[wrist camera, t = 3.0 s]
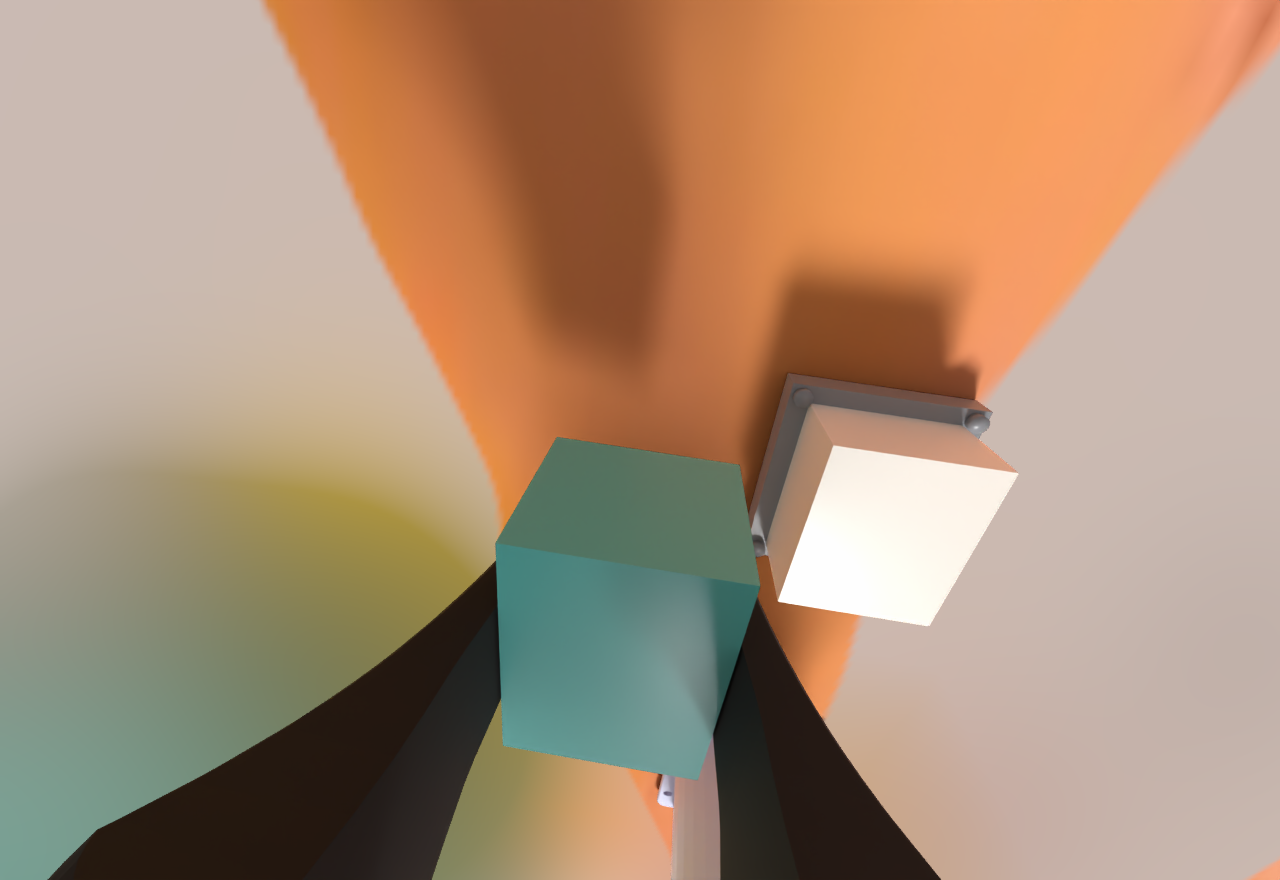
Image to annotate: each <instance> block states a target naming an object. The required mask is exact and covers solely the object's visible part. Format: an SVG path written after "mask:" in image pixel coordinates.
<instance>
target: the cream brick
mask: <svg viewBox="0 0 1280 880" xmlns="http://www.w3.org/2000/svg"><path fill="white" fill-rule="evenodd" d="M1018 474H1019V473H1018V472H1016V470H1014V469H1013V468H1012V467H1011V466H1010V465H1009V464H1007V463H1006V462H1005V461H1004V460H1003V459H1001V458H1000V457H999V456H998V455H997V454H995V453H994V452H993V451H992V450H991V449H990V448H988V447H987V446H986V445H985V444H984V443H982V442H981V441H980V440H979V439H978V438H977V437H975V436H974V435H973V434H972V433H971V432H969V431H968V430H967V429H966V428H965V427H964V426H962V425H955V424H948V423H941V422H934V421H928V420H921V419H914V418H907V417H900V416H894V415H887V414H880V413H873V412H866V411H860V410H853V409H846V408H839V407H832V406H826V405H819V404H811V405H810V406H809V407H808V410H807V413H806V416H805V419H804V422H803V426H802V429H801V432H800V435H799V438H798V442H797V445H796V448H795V451H794V454H793V458H792V461H791V464H790V467H789V470H788V474H787V477H786V480H785V483H784V486H783V489H782V493H781V496H780V499H779V502H778V505H777V509H776V512H775V515H774V518H773V521H772V525H771V528H770V531H769V534H768V537H767V541H766V547H767V552H768V556H769V561H770V566H771V571H772V576H773V580H774V585H775V590H776V595H777V600H778V602H783V603H789V604H795V605H802V606H808V607H814V608H820V609H826V610H832V611H838V612H844V613H851V614H857V615H863V616H869V617H875V618H882V619H887V620H894V621H900V622H906V623H912V624H918V625H925V626H929V625H930V624H931V622H932V620H933V618H934V617H935V615H936V613H937V612H938V610H939V608H940V607H941V605H942V603H943V602H944V600H945V598H946V596H947V594H948V593H949V591H950V590H951V588H952V586H953V585H954V583H955V581H956V579H957V578H958V576H959V574H960V573H961V571H962V569H963V568H964V566H965V564H966V562H967V561H968V559H969V557H970V556H971V554H972V552H973V550H974V549H975V547H976V545H977V544H978V542H979V540H980V539H981V537H982V535H983V534H984V532H985V530H986V528H987V527H988V525H989V523H990V522H991V520H992V518H993V517H994V515H995V513H996V511H997V510H998V508H999V506H1000V505H1001V503H1002V501H1003V500H1004V498H1005V496H1006V494H1007V493H1008V491H1009V489H1010V488H1011V486H1012V484H1013V483H1014V481H1015V479H1016V477H1017V476H1018Z"/></svg>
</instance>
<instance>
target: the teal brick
mask: <svg viewBox="0 0 1280 880" xmlns="http://www.w3.org/2000/svg"><path fill="white" fill-rule="evenodd" d="M495 545H496V572H497V598H498V625H499V652H500V678H501V703H502V731H503V746H508V747H513V748H519V749H525V750H531V751H536V752H541V753H547V754H552V755H558V756H564V757H569V758H575V759H581V760H586V761H592V762H598V763H603V764H608V765H614V766H619V767H625V768H630V769H636V770H642V771H647V772H653V773H658V774H664V775H670V776H675V777H681V778H686V779H692V780H697V781H698V778H699V775H700V772H701V769H702V766H703V763H704V760H705V757H706V754H707V750H708V747H709V744H710V741H711V738H712V735H713V732H714V729H715V726H716V723H717V719H718V716H719V713H720V710H721V707H722V704H723V701H724V698H725V695H726V692H727V688H728V685H729V682H730V679H731V676H732V673H733V670H734V667H735V664H736V661H737V657H738V654H739V651H740V648H741V645H742V642H743V639H744V636H745V633H746V630H747V626H748V623H749V620H750V617H751V614H752V611H753V608H754V605H755V602H756V599H757V595H758V592H759V589H760V580H759V575H758V569H757V563H756V557H755V551H754V545H753V540H752V534H751V528H750V522H749V516H748V511H747V505H746V499H745V493H744V487H743V481H742V476H741V470H740V465H737V464H731V463H724V462H718V461H711V460H705V459H698V458H692V457H685V456H678V455H672V454H665V453H659V452H652V451H646V450H639V449H633V448H626V447H620V446H613V445H606V444H600V443H593V442H587V441H580V440H574V439H567V438H561V437H557V438H556V440H555V441H554V443H553V445H552V446H551V448H550V450H549V452H548V453H547V455H546V457H545V458H544V460H543V462H542V464H541V465H540V467H539V469H538V471H537V472H536V474H535V476H534V477H533V479H532V481H531V483H530V484H529V486H528V488H527V490H526V491H525V493H524V495H523V496H522V498H521V500H520V502H519V503H518V505H517V507H516V509H515V510H514V512H513V514H512V515H511V517H510V519H509V521H508V522H507V524H506V526H505V528H504V529H503V531H502V533H501V534H500V536H499V538H498V540H497V541H496V543H495Z"/></svg>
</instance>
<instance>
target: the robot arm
mask: <svg viewBox="0 0 1280 880" xmlns="http://www.w3.org/2000/svg"><path fill="white" fill-rule="evenodd" d="M500 700H501V678H500V652H499V625H498V598H497V572H496V561H495V562H494V563H493V564H492V565H491V566H490V567H489V568H488V569H487V570H486V571H485V572H484V573H483V574H482V575H481V576H480V577H479V578H478V579H477V580H476V581H475V582H474V583H473V584H472V585H471V586H470V587H468V588H467V589H466V590H465V591H464V592H463V593H462V594H461V595H460V596H459V597H458V598H457V599H456V600H454V601H453V602H452V603H451V604H450V605H449V606H448V607H447V608H446V609H445V610H443V611H442V612H441V613H440V614H439V615H438V616H437V617H436V618H435V619H433V620H432V621H431V622H430V623H429V624H428V625H426V626H425V627H424V628H423V629H421V630H420V631H419V632H418V633H417V634H416V635H414V636H413V637H412V638H411V639H409V640H408V641H407V642H406V643H405V644H403V645H402V646H401V647H400V648H398V649H397V650H396V651H395V652H393V653H392V654H391V655H389V656H388V657H387V658H386V659H384V660H383V661H382V662H380V663H379V664H378V665H377V666H375V667H374V668H372V669H371V670H370V671H368V672H367V673H366V674H364V675H363V676H361V677H360V678H359V679H357V680H356V681H354V682H353V683H352V684H351V685H349V686H347V687H346V688H344V689H343V690H341V691H340V692H338V693H337V694H336V695H334V696H332V697H331V698H330V699H328V700H327V701H325V702H324V703H322V704H321V705H319V706H318V707H316V708H315V709H313V710H312V711H310V712H309V713H307V714H306V715H304V716H302V717H301V718H300V719H298V720H296V721H295V722H293V723H291V724H290V725H288V726H286V727H285V728H283V729H282V730H280V731H278V732H277V733H275V734H273V735H272V736H270V737H268V738H266V739H265V740H263V741H261V742H260V743H258V744H256V745H255V746H253V747H251V748H249V749H247V750H246V751H244V752H242V753H241V754H239V755H237V756H236V757H234V758H233V759H230V760H229V761H227V762H225V763H224V764H222V765H221V766H218V767H217V768H215V769H213V770H211V771H209V772H208V773H206V774H204V775H202V776H200V777H199V778H197V779H195V780H193V781H191V782H189V783H187V784H185V785H183V786H181V787H180V788H178V789H176V790H174V791H172V792H170V793H168V794H166V795H164V796H162V797H160V798H159V799H156V800H154V801H153V802H151V803H149V804H147V805H145V806H143V807H141V808H139V809H137V810H135V811H133V812H131V813H129V814H128V815H126V816H124V817H122V818H120V819H118V820H116V821H114V822H112V823H110V824H108V825H106V826H104V827H102V828H100V829H98V830H96V831H95V832H94V833H93V834H92V835H91V836H90V837H89V838H88V839H87V840H86V841H85V842H84V843H83V844H82V845H81V846H80V847H79V848H78V849H77V850H76V851H75V852H74V853H73V854H72V855H71V856H70V857H69V858H68V859H67V860H66V861H65V862H64V863H63V864H62V865H61V866H60V867H59V868H58V869H57V870H56V871H55V872H54V874H53V875H52V876H51V877H50V878H49V879H48V880H432V877H433V874H434V871H435V868H436V865H437V862H438V859H439V856H440V853H441V850H442V847H443V843H444V841H445V838H446V835H447V832H448V829H449V826H450V824H451V821H452V818H453V815H454V812H455V809H456V806H457V803H458V801H459V798H460V795H461V792H462V789H463V786H464V783H465V781H466V778H467V775H468V773H469V771H470V768H471V766H472V763H473V761H474V758H475V756H476V754H477V752H478V749H479V747H480V745H481V742H482V740H483V738H484V736H485V733H486V731H487V729H488V726H489V724H490V722H491V720H492V718H493V715H494V713H495V711H496V709H497V706H498V704H499V702H500ZM657 802H658V803H659V804H661V805H663V806H668V807H673V832H672V861H671V880H941V879H940V878H939V876H938V875H937V874H936V873H935V871H934V870H933V869H932V868H931V867H930V865H929V864H928V863H927V862H926V861H925V859H924V858H923V857H922V855H921V854H920V853H919V852H918V850H917V849H916V848H915V847H914V845H913V844H912V843H911V842H910V840H909V839H908V838H907V837H906V836H905V834H904V833H903V832H902V831H901V829H900V828H899V827H898V826H897V824H896V823H895V822H894V821H893V820H892V818H891V817H890V816H889V814H888V813H887V812H886V810H885V809H884V808H883V807H882V805H881V804H880V802H879V801H878V800H877V798H876V797H875V796H874V794H873V793H872V791H871V790H870V789H869V788H868V786H867V785H866V783H865V782H864V781H863V779H862V778H861V776H860V775H859V773H858V772H857V771H856V769H855V768H854V766H853V765H852V763H851V762H850V761H849V759H848V758H847V756H846V755H845V753H844V752H843V750H842V749H841V747H840V746H839V744H838V743H837V741H836V740H835V738H834V737H833V735H832V734H831V732H830V731H829V729H828V728H827V726H826V724H825V723H824V721H823V719H822V718H821V716H820V715H819V713H818V711H817V710H816V708H815V706H814V705H813V703H812V702H811V700H810V698H809V696H808V695H807V693H806V691H805V690H804V688H803V686H802V684H801V683H800V681H799V679H798V677H797V675H796V673H795V672H794V670H793V668H792V666H791V664H790V663H789V661H788V659H787V657H786V655H785V653H784V651H783V650H782V648H781V646H780V644H779V642H778V640H777V638H776V636H775V634H774V632H773V630H772V628H771V626H770V624H769V621H768V619H767V617H766V615H765V613H764V611H763V609H762V606H761V604H760V602H759V600H758V597H757V599H756V602H755V605H754V608H753V611H752V614H751V617H750V620H749V623H748V626H747V630H746V633H745V636H744V639H743V642H742V645H741V648H740V651H739V654H738V657H737V661H736V664H735V667H734V670H733V673H732V676H731V679H730V682H729V685H728V688H727V692H726V695H725V698H724V701H723V704H722V707H721V710H720V713H719V716H718V719H717V723H716V726H715V729H714V732H713V735H712V738H711V741H710V744H709V747H708V750H707V754H706V757H705V760H704V763H703V766H702V769H701V772H700V775H699V778H698V781H697V780H692V779H686V778H681V777H675V776H670V775H664V774H663V775H662V779H661V783H660V787H659V791H658V796H657Z"/></svg>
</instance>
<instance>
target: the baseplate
mask: <svg viewBox="0 0 1280 880" xmlns="http://www.w3.org/2000/svg"><path fill="white" fill-rule="evenodd" d="M811 404H819V405H826V406H832V407H839V408H846V409H853V410H860V411H866V412H873V413H880V414H887V415H894V416H900V417H907V418H914V419H921V420H928V421H934V422H941V423H948V424H955V425H962V426H964V427H965V428H966V429H967V430H968V431H969V432H971V433H972V434H973V435H974V436H975V437H977V438H978V439H979V438H980V436H981V434H982V433H983V432H985V431H986V430H987V429H988V428H989V426H990V421H989V419H990V416H991V415H992V413H993V412H992V411H990V410H989V409H988V408H986V407H985V406H983V405H982V404H981V403H979V402H978V401H976V400H971V399H964V398H957V397H950V396H943V395H936V394H929V393H922V392H915V391H908V390H902V389H895V388H888V387H881V386H874V385H867V384H860V383H853V382H846V381H839V380H833V379H826V378H819V377H812V376H805V375H798V374H791V373H788V374H787V378H786V381H785V385H784V388H783V392H782V396H781V399H780V403H779V406H778V410H777V413H776V417H775V421H774V424H773V428H772V431H771V435H770V438H769V442H768V446H767V449H766V453H765V456H764V460H763V464H762V467H761V471H760V474H759V478H758V481H757V485H756V489H755V492H754V496H753V499H752V503H751V506H750V510H749V514H748V516H749V522H750V528H751V534H752V540H753V545H754V551H755V557H760V556H763V555H767V556H768V552H767V547H766V541H767V537H768V534H769V531H770V528H771V525H772V521H773V518H774V515H775V512H776V509H777V505H778V502H779V499H780V496H781V493H782V489H783V486H784V483H785V480H786V477H787V474H788V470H789V467H790V464H791V461H792V458H793V454H794V451H795V448H796V445H797V442H798V438H799V435H800V432H801V429H802V426H803V422H804V419H805V416H806V413H807V410H808V407H809V406H810V405H811Z"/></svg>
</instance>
